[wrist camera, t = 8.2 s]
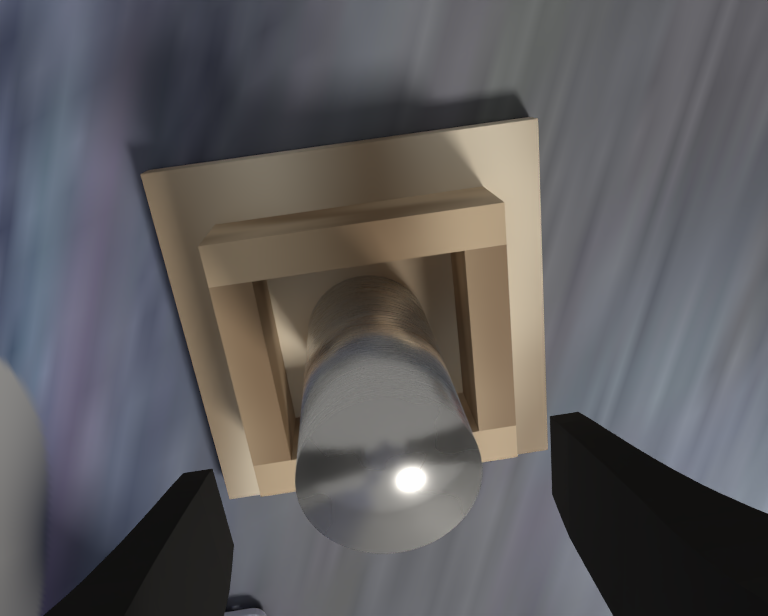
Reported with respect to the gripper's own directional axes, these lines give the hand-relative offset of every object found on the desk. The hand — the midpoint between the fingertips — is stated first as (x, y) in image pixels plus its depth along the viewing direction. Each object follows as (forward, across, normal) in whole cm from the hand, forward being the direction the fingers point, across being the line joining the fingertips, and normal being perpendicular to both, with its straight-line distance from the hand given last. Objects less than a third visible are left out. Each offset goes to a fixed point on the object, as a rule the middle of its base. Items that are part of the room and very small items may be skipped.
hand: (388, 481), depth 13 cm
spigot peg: (+8, 0, 0) cm, 8 cm away
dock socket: (+9, 0, 0) cm, 9 cm away
